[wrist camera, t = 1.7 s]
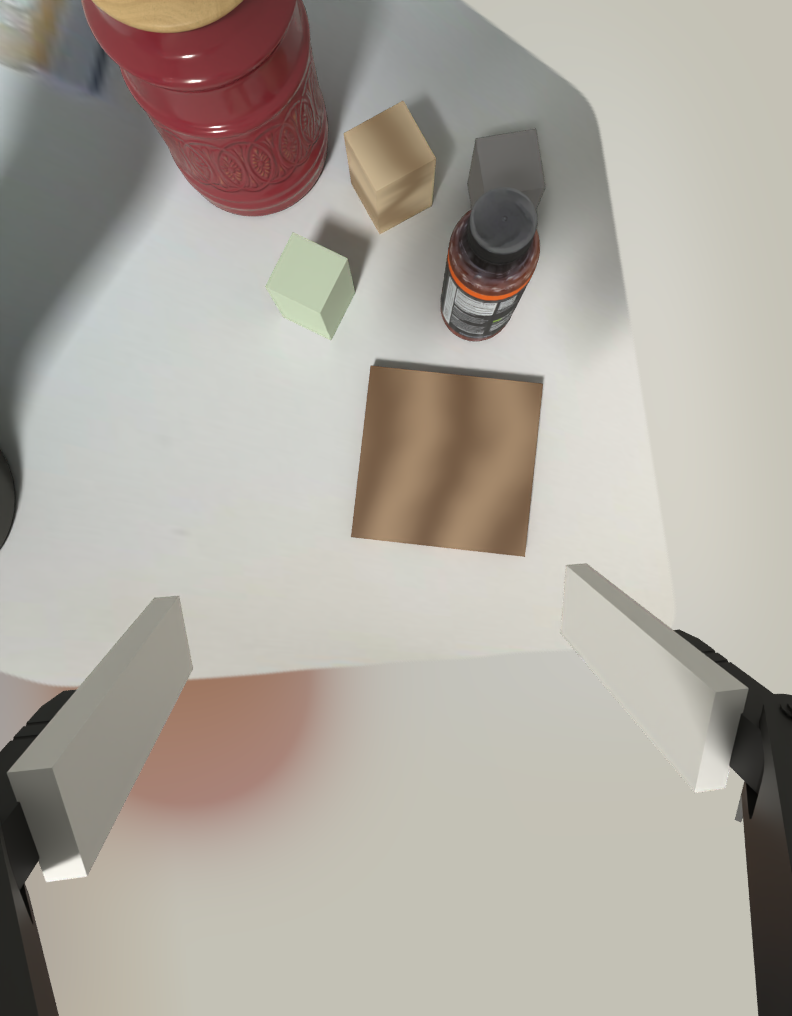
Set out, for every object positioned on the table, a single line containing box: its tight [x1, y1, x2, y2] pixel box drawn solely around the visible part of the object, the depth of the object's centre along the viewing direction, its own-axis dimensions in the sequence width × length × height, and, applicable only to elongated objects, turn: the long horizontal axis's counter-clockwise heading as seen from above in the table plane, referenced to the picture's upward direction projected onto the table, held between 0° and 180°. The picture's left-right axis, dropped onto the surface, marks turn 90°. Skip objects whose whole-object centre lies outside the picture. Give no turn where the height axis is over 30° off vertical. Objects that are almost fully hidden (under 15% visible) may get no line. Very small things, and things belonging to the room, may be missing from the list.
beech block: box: [344, 101, 436, 234], centre depth 35 cm, size 5×5×5 cm
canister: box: [81, 0, 328, 216], centre depth 29 cm, size 13×13×18 cm
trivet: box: [351, 366, 543, 557], centre depth 36 cm, size 14×14×1 cm
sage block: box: [265, 233, 355, 340], centre depth 35 cm, size 4×4×5 cm
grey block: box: [467, 129, 546, 209], centre depth 35 cm, size 4×4×4 cm
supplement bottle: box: [441, 187, 540, 341], centre depth 32 cm, size 6×6×11 cm
